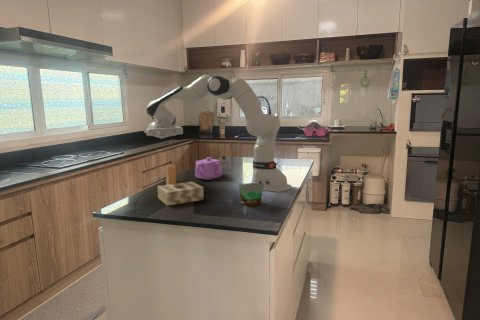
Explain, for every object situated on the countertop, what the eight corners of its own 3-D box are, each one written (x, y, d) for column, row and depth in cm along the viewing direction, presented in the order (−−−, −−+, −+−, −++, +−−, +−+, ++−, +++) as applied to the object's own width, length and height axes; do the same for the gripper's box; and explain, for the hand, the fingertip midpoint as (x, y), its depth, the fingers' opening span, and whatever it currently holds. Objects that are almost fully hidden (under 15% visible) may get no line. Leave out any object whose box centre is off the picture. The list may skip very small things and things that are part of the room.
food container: (241, 208, 148) (241, 186, 146) (237, 204, 154) (237, 182, 152) (267, 205, 151) (268, 184, 150) (263, 201, 157) (263, 181, 155)
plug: (174, 191, 176) (173, 164, 174) (176, 192, 173) (175, 166, 170) (166, 192, 174) (165, 165, 172) (169, 194, 171) (168, 167, 168)
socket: (192, 192, 173) (192, 181, 172) (203, 199, 161) (203, 187, 160) (158, 197, 164) (157, 186, 163) (167, 205, 152) (166, 192, 151)
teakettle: (195, 180, 199) (195, 160, 197) (194, 174, 216) (194, 155, 213) (224, 179, 202) (223, 159, 200) (221, 173, 218) (221, 154, 216)
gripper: (142, 125, 186) (149, 127, 175) (177, 124, 197) (186, 125, 185) (143, 137, 187) (149, 139, 176) (178, 135, 198) (186, 137, 186)
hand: (168, 132), depth 180 cm, fingers open, 8 cm apart
